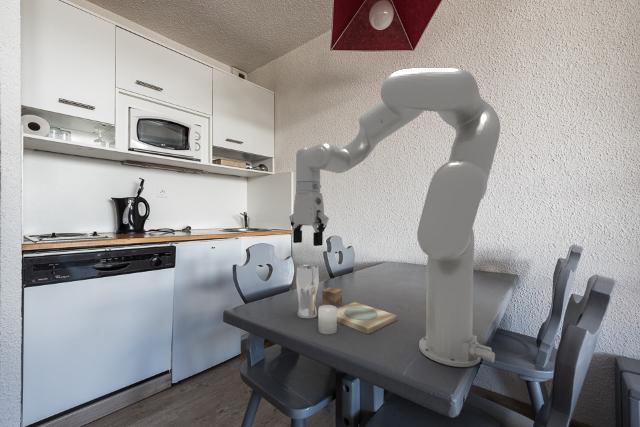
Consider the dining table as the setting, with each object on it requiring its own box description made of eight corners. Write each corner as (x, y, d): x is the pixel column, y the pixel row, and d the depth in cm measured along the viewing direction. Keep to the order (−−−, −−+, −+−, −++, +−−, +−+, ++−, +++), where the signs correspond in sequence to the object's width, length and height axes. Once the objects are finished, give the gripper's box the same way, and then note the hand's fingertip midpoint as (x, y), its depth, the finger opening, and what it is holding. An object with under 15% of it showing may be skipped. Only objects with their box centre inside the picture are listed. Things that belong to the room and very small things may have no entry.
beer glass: (315, 320, 80) (316, 269, 80) (293, 318, 82) (293, 268, 82) (320, 311, 87) (320, 265, 87) (299, 310, 88) (299, 264, 88)
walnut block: (341, 303, 95) (341, 289, 95) (335, 307, 91) (335, 292, 91) (329, 301, 98) (329, 287, 98) (322, 305, 94) (322, 290, 94)
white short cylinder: (340, 330, 73) (340, 308, 73) (327, 336, 70) (327, 312, 70) (327, 324, 77) (327, 303, 77) (314, 329, 74) (314, 307, 74)
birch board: (397, 320, 81) (397, 314, 81) (368, 334, 71) (368, 327, 71) (355, 306, 92) (355, 301, 92) (325, 317, 83) (325, 311, 83)
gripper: (336, 188, 81) (335, 245, 81) (299, 191, 93) (299, 241, 93) (317, 186, 75) (317, 247, 76) (281, 189, 88) (281, 242, 88)
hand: (307, 244), depth 84 cm, fingers open, 9 cm apart
